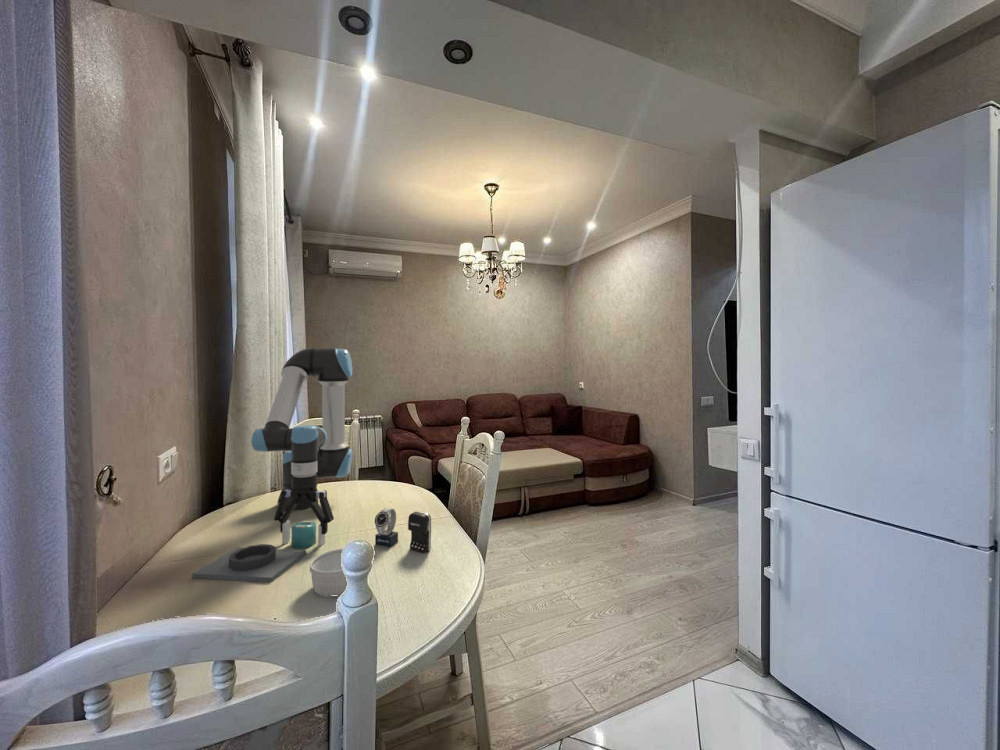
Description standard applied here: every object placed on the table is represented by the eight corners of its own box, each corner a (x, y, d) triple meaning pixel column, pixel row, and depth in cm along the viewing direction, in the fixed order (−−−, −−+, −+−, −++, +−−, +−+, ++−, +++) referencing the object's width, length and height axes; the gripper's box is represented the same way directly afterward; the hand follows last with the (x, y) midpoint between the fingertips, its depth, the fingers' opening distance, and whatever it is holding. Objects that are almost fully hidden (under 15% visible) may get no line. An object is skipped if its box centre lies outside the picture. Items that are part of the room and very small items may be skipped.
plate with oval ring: (237, 551, 121) (237, 539, 121) (306, 554, 119) (306, 542, 119) (192, 577, 105) (192, 564, 105) (271, 582, 103) (271, 568, 103)
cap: (299, 539, 130) (299, 519, 130) (320, 540, 130) (320, 519, 130) (286, 548, 123) (286, 527, 123) (308, 549, 123) (308, 528, 123)
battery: (406, 549, 123) (406, 513, 123) (414, 545, 126) (414, 509, 126) (423, 555, 119) (423, 517, 119) (431, 550, 123) (431, 513, 123)
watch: (371, 547, 124) (371, 512, 124) (386, 537, 132) (386, 504, 132) (386, 549, 123) (387, 514, 123) (401, 539, 130) (401, 506, 130)
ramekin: (308, 605, 93) (308, 576, 93) (310, 579, 105) (310, 552, 105) (367, 593, 98) (367, 565, 98) (363, 569, 110) (363, 544, 110)
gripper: (261, 476, 124) (260, 546, 124) (334, 478, 122) (333, 550, 122) (276, 470, 131) (276, 536, 131) (345, 472, 129) (344, 539, 129)
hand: (303, 543), depth 126 cm, fingers open, 11 cm apart
